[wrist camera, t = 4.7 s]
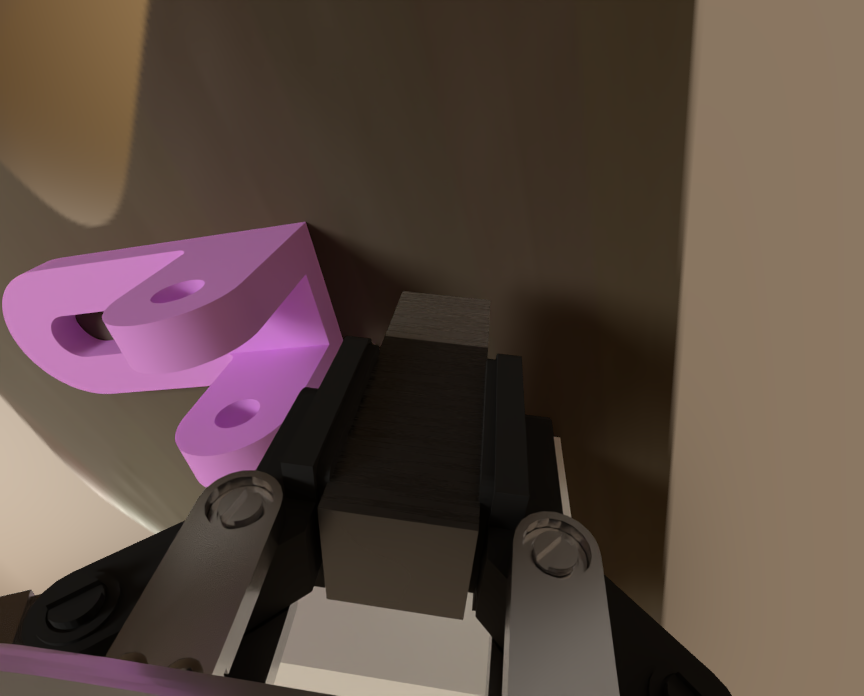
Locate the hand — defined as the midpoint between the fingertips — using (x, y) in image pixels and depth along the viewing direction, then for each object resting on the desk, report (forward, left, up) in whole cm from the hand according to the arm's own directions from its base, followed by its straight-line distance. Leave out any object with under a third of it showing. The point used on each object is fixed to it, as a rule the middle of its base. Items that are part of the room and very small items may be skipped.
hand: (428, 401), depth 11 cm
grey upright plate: (+5, 0, -3) cm, 6 cm away
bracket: (+3, -11, -7) cm, 13 cm away
